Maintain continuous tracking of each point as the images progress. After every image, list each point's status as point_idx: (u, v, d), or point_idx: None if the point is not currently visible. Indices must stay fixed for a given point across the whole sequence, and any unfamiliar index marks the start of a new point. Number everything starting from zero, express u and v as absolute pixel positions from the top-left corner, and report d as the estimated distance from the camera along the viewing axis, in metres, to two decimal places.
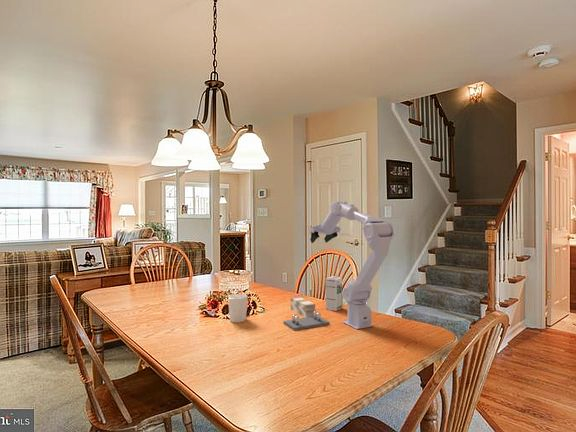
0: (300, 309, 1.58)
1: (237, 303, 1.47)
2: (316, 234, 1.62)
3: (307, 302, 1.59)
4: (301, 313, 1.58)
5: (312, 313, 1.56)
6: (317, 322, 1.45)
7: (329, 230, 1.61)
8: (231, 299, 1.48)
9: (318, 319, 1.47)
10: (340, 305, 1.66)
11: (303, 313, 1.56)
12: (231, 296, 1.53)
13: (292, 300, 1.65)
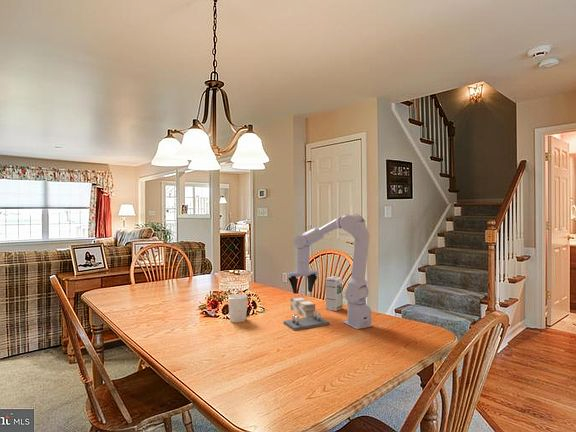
0: (300, 309, 1.58)
1: (237, 303, 1.47)
2: (294, 278, 1.57)
3: (307, 302, 1.59)
4: (301, 313, 1.58)
5: (312, 313, 1.56)
6: (317, 322, 1.45)
7: (304, 268, 1.58)
8: (231, 299, 1.48)
9: (318, 319, 1.47)
10: (340, 305, 1.66)
11: (303, 313, 1.56)
12: (231, 296, 1.53)
13: (292, 300, 1.65)
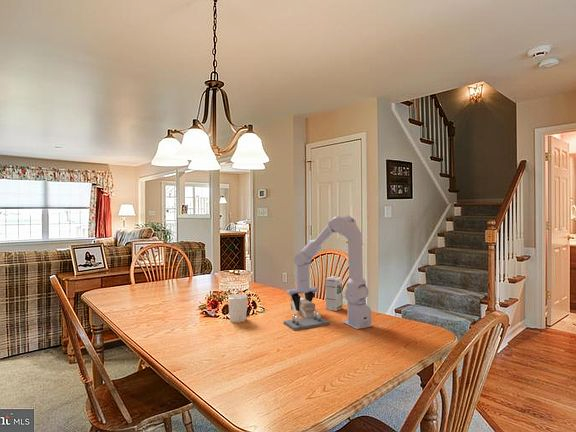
0: (300, 308, 1.58)
1: (237, 303, 1.47)
2: (296, 295, 1.58)
3: (307, 302, 1.58)
4: (301, 313, 1.58)
5: (312, 313, 1.56)
6: (317, 322, 1.45)
7: (304, 286, 1.58)
8: (231, 299, 1.48)
9: (318, 319, 1.47)
10: (340, 305, 1.66)
11: (303, 313, 1.56)
12: (231, 296, 1.53)
13: (292, 300, 1.65)
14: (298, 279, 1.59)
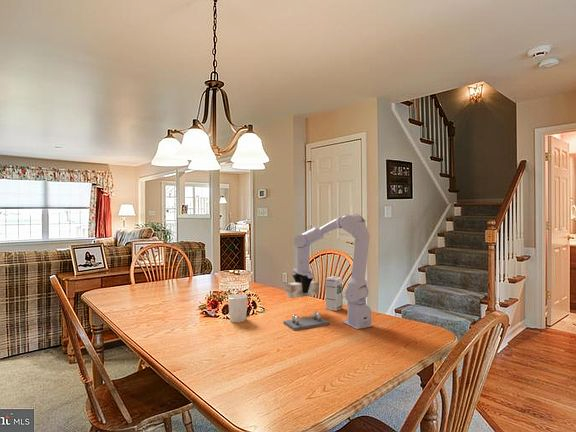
0: None
1: (237, 303, 1.47)
2: (295, 274, 1.64)
3: (296, 283, 1.59)
4: None
5: (289, 293, 1.57)
6: (317, 322, 1.45)
7: (296, 267, 1.60)
8: (231, 299, 1.48)
9: (318, 319, 1.47)
10: (340, 305, 1.66)
11: None
12: (231, 296, 1.53)
13: None
14: (298, 261, 1.59)
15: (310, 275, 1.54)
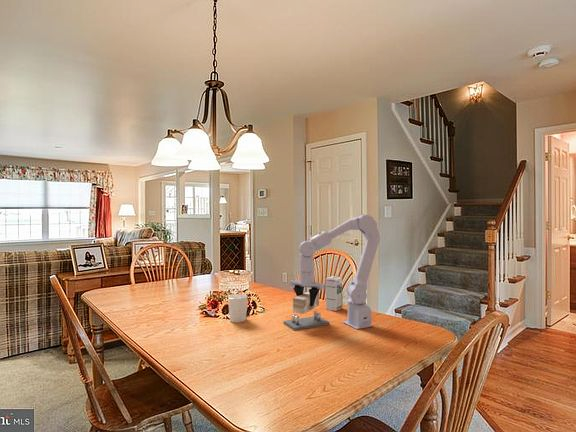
0: None
1: (237, 303, 1.47)
2: (296, 287, 1.46)
3: (303, 297, 1.43)
4: None
5: (300, 309, 1.40)
6: (317, 322, 1.45)
7: (302, 278, 1.44)
8: (231, 299, 1.48)
9: (318, 319, 1.47)
10: (340, 305, 1.66)
11: None
12: (231, 296, 1.53)
13: None
14: (306, 272, 1.43)
15: (322, 286, 1.42)
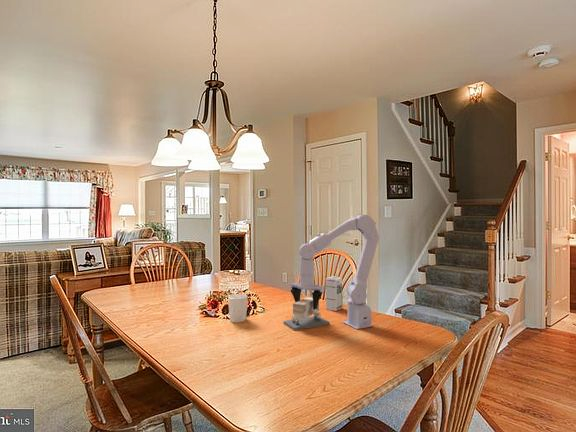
0: None
1: (237, 303, 1.47)
2: (293, 289, 1.47)
3: (303, 302, 1.43)
4: None
5: (300, 314, 1.40)
6: (317, 322, 1.45)
7: (302, 281, 1.44)
8: (231, 299, 1.48)
9: (318, 319, 1.47)
10: (340, 305, 1.66)
11: None
12: (231, 296, 1.53)
13: None
14: (306, 274, 1.43)
15: (322, 288, 1.42)
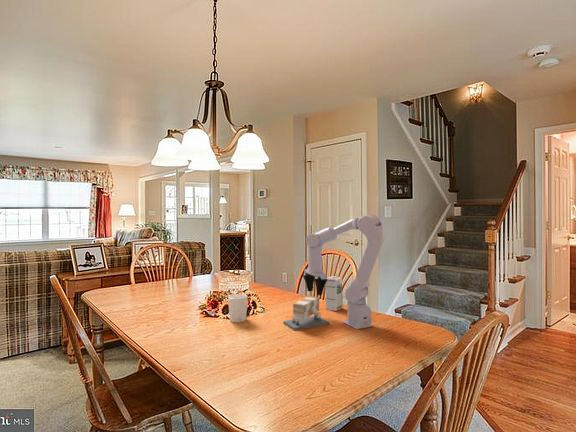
0: None
1: (237, 303, 1.47)
2: (305, 275, 1.60)
3: (303, 302, 1.43)
4: None
5: (300, 315, 1.40)
6: (317, 322, 1.45)
7: (308, 267, 1.56)
8: (231, 299, 1.48)
9: (318, 319, 1.47)
10: (340, 305, 1.66)
11: None
12: (231, 296, 1.53)
13: None
14: (311, 261, 1.54)
15: (323, 276, 1.50)
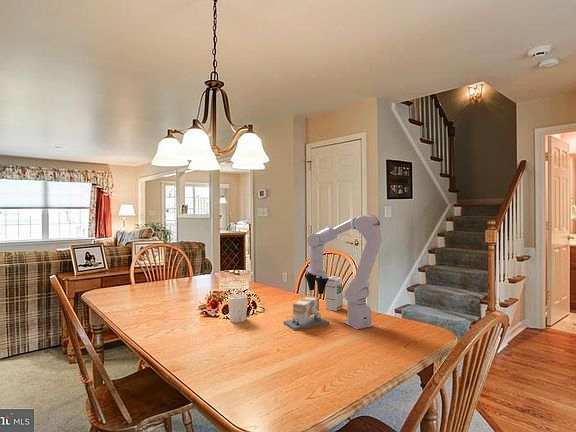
0: None
1: (237, 303, 1.47)
2: (307, 274, 1.62)
3: (303, 302, 1.43)
4: None
5: (300, 315, 1.40)
6: (317, 322, 1.45)
7: (310, 267, 1.58)
8: (231, 299, 1.48)
9: (318, 319, 1.47)
10: (340, 305, 1.66)
11: None
12: (231, 296, 1.53)
13: None
14: (312, 261, 1.56)
15: (324, 275, 1.52)
